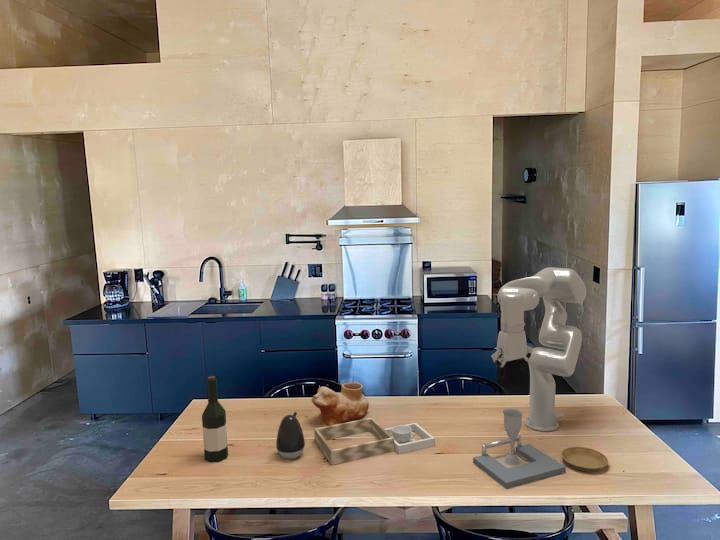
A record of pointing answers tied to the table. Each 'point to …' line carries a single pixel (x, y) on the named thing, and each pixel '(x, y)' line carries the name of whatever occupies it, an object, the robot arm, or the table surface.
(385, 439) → the beige brown patterned tray
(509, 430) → the chalice
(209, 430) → the wine bottle
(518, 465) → the felt pad
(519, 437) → the metal bar handle
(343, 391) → the ceramic vessel
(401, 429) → the teacup
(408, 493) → the table surface
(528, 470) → the grey rectangular frame
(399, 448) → the square frame
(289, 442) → the dark grey pear figure
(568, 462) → the plant saucer
